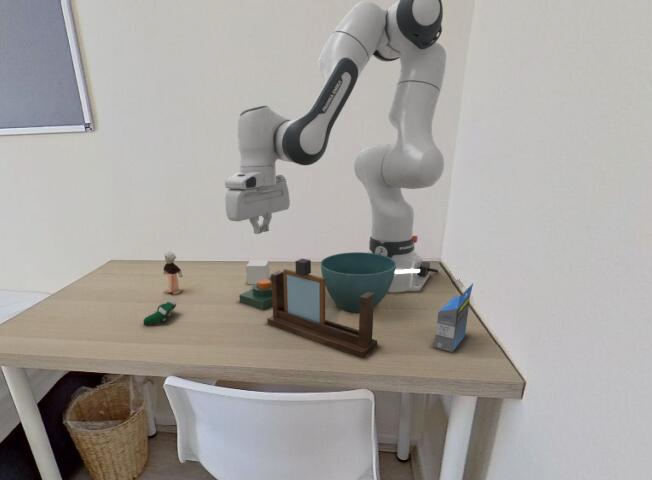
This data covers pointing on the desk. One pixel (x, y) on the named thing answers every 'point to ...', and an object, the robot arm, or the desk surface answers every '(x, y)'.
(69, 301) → the desk surface
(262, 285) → the latch button
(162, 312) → the green shoe
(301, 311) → the window pane
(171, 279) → the grandmother figurine
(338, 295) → the teal bowl
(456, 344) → the blue cardboard box
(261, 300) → the green push button base
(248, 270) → the white cube
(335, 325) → the window frame
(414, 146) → the robot arm
